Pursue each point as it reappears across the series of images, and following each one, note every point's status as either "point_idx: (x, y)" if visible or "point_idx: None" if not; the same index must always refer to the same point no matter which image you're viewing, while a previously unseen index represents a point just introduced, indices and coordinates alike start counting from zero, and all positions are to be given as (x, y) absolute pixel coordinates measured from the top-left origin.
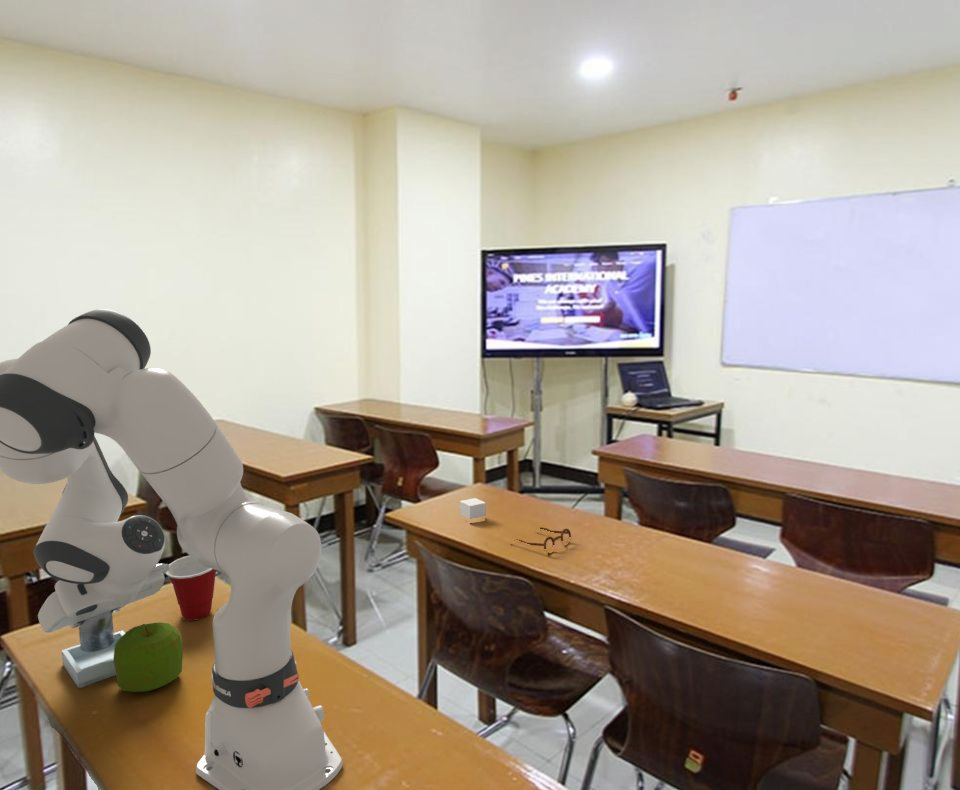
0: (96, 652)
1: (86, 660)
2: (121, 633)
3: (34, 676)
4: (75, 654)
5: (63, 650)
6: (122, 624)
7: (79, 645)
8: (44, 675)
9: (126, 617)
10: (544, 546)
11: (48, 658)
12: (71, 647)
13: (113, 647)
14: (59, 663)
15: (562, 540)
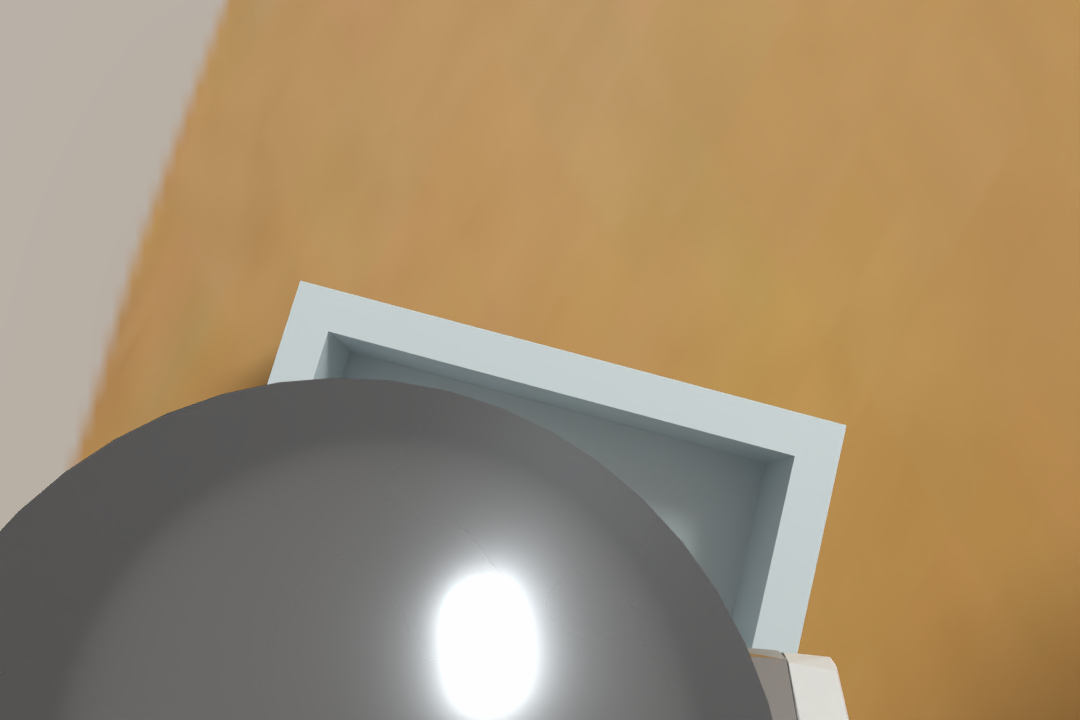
0: (559, 423)
1: None
2: (800, 482)
3: (126, 286)
4: (400, 359)
5: (305, 303)
6: (985, 96)
7: (437, 343)
8: (171, 341)
9: (1073, 8)
10: None
11: (336, 111)
12: (377, 312)
13: (690, 476)
14: (335, 263)
15: None
